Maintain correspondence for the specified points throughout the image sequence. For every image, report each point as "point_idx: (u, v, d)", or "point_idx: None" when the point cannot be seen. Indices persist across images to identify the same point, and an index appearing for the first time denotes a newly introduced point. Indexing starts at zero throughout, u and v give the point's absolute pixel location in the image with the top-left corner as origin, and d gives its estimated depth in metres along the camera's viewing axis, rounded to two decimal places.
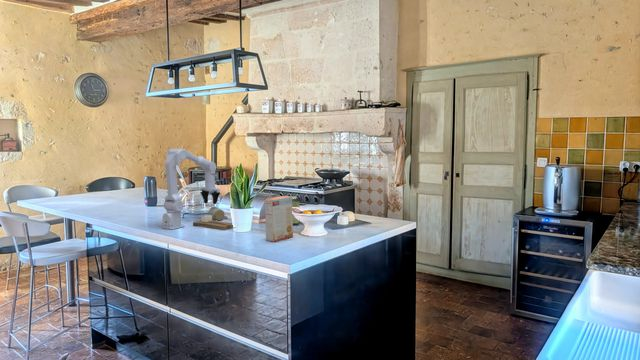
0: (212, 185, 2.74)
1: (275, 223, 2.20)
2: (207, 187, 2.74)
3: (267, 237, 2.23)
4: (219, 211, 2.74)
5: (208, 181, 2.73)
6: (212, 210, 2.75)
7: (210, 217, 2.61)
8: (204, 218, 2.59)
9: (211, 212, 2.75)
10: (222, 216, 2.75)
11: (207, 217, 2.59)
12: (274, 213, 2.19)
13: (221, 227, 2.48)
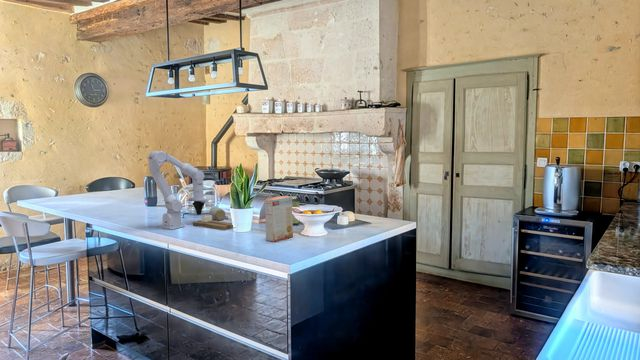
0: (200, 195, 2.61)
1: (275, 223, 2.20)
2: (195, 197, 2.61)
3: (267, 237, 2.23)
4: (220, 211, 2.74)
5: (196, 191, 2.60)
6: (213, 210, 2.76)
7: (210, 217, 2.61)
8: (204, 218, 2.59)
9: (212, 212, 2.75)
10: (223, 216, 2.76)
11: (207, 217, 2.59)
12: (274, 213, 2.19)
13: (221, 227, 2.48)
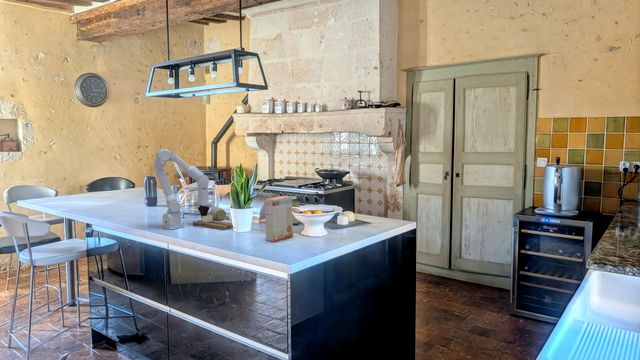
0: (206, 200, 2.59)
1: (275, 223, 2.20)
2: (200, 202, 2.59)
3: (267, 237, 2.23)
4: (220, 211, 2.74)
5: (201, 196, 2.58)
6: (213, 210, 2.76)
7: (210, 217, 2.61)
8: (204, 218, 2.58)
9: (212, 212, 2.76)
10: (223, 216, 2.76)
11: (207, 217, 2.59)
12: (274, 213, 2.19)
13: (221, 227, 2.48)
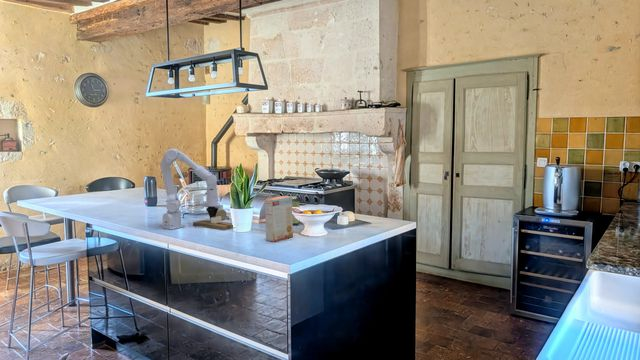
0: (214, 201, 2.56)
1: (275, 223, 2.20)
2: (209, 203, 2.55)
3: (267, 237, 2.23)
4: (221, 211, 2.75)
5: (210, 196, 2.54)
6: None
7: (219, 218, 2.57)
8: (213, 219, 2.55)
9: None
10: (224, 216, 2.76)
11: (216, 218, 2.55)
12: (274, 213, 2.19)
13: (221, 227, 2.48)
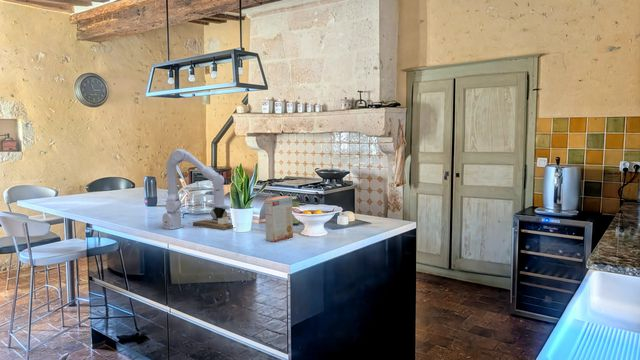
0: (221, 201, 2.53)
1: (275, 223, 2.20)
2: (216, 204, 2.52)
3: (267, 237, 2.23)
4: None
5: (217, 197, 2.52)
6: None
7: (226, 219, 2.55)
8: (220, 220, 2.52)
9: None
10: (225, 216, 2.77)
11: (223, 219, 2.53)
12: (274, 213, 2.19)
13: (221, 227, 2.48)
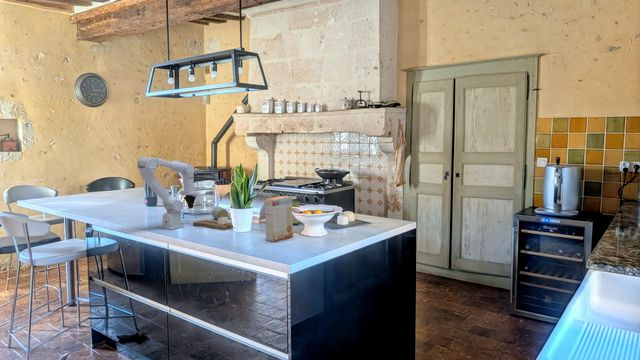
0: (191, 189, 2.60)
1: (275, 223, 2.20)
2: (186, 191, 2.60)
3: (267, 237, 2.23)
4: (223, 211, 2.75)
5: (186, 185, 2.59)
6: (216, 210, 2.77)
7: (226, 219, 2.54)
8: (220, 220, 2.52)
9: (215, 212, 2.76)
10: (226, 216, 2.77)
11: (223, 219, 2.53)
12: (274, 213, 2.19)
13: (221, 227, 2.48)
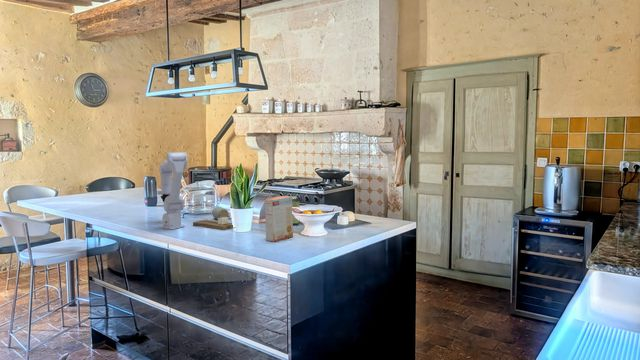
0: (168, 188, 2.64)
1: (275, 223, 2.20)
2: (163, 190, 2.63)
3: (267, 237, 2.23)
4: (223, 210, 2.75)
5: (164, 184, 2.63)
6: (216, 209, 2.77)
7: (226, 219, 2.54)
8: (220, 220, 2.52)
9: (215, 211, 2.77)
10: (226, 215, 2.77)
11: (223, 219, 2.53)
12: (274, 213, 2.19)
13: (221, 227, 2.48)
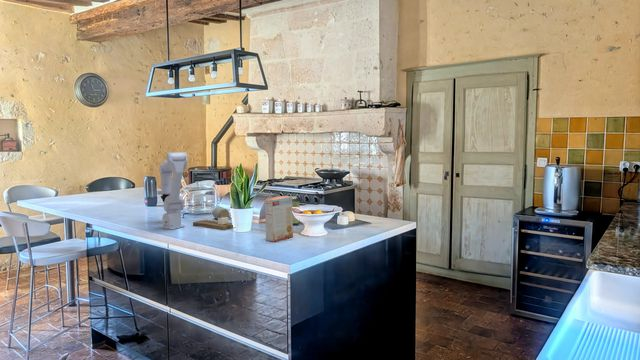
0: (168, 188, 2.64)
1: (275, 223, 2.20)
2: (163, 190, 2.63)
3: (267, 237, 2.23)
4: (224, 210, 2.76)
5: (164, 184, 2.63)
6: (217, 209, 2.77)
7: (226, 219, 2.54)
8: (220, 220, 2.52)
9: (216, 211, 2.77)
10: (227, 215, 2.77)
11: (223, 219, 2.53)
12: (274, 213, 2.19)
13: (221, 227, 2.48)
